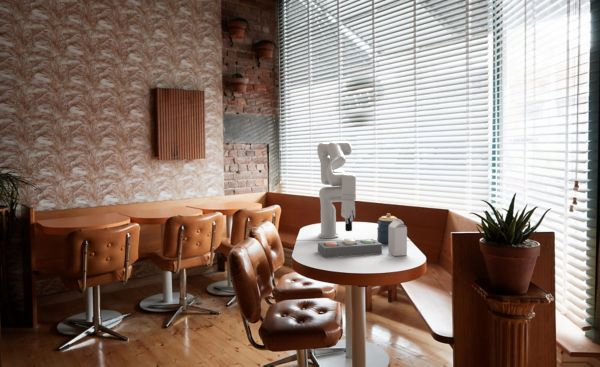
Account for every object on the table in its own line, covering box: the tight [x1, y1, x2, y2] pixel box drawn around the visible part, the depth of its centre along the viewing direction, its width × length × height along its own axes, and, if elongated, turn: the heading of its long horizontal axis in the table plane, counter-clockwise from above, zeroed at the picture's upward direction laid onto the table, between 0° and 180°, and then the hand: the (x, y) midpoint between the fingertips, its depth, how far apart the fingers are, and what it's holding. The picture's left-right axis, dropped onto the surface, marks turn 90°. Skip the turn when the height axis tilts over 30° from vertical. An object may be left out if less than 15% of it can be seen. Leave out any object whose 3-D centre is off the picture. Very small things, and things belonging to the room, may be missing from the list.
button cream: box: [343, 238, 356, 245], centre depth 228 cm, size 6×6×3 cm
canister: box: [376, 212, 397, 246], centre depth 249 cm, size 13×13×18 cm
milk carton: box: [387, 217, 408, 257], centre depth 223 cm, size 7×7×19 cm
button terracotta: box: [325, 241, 337, 247], centre depth 226 cm, size 6×6×3 cm
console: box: [317, 238, 383, 259], centre depth 228 cm, size 13×32×5 cm, turn 103°
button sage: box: [361, 238, 374, 244], centre depth 230 cm, size 6×6×3 cm
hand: (348, 230), depth 227 cm, fingers closed
